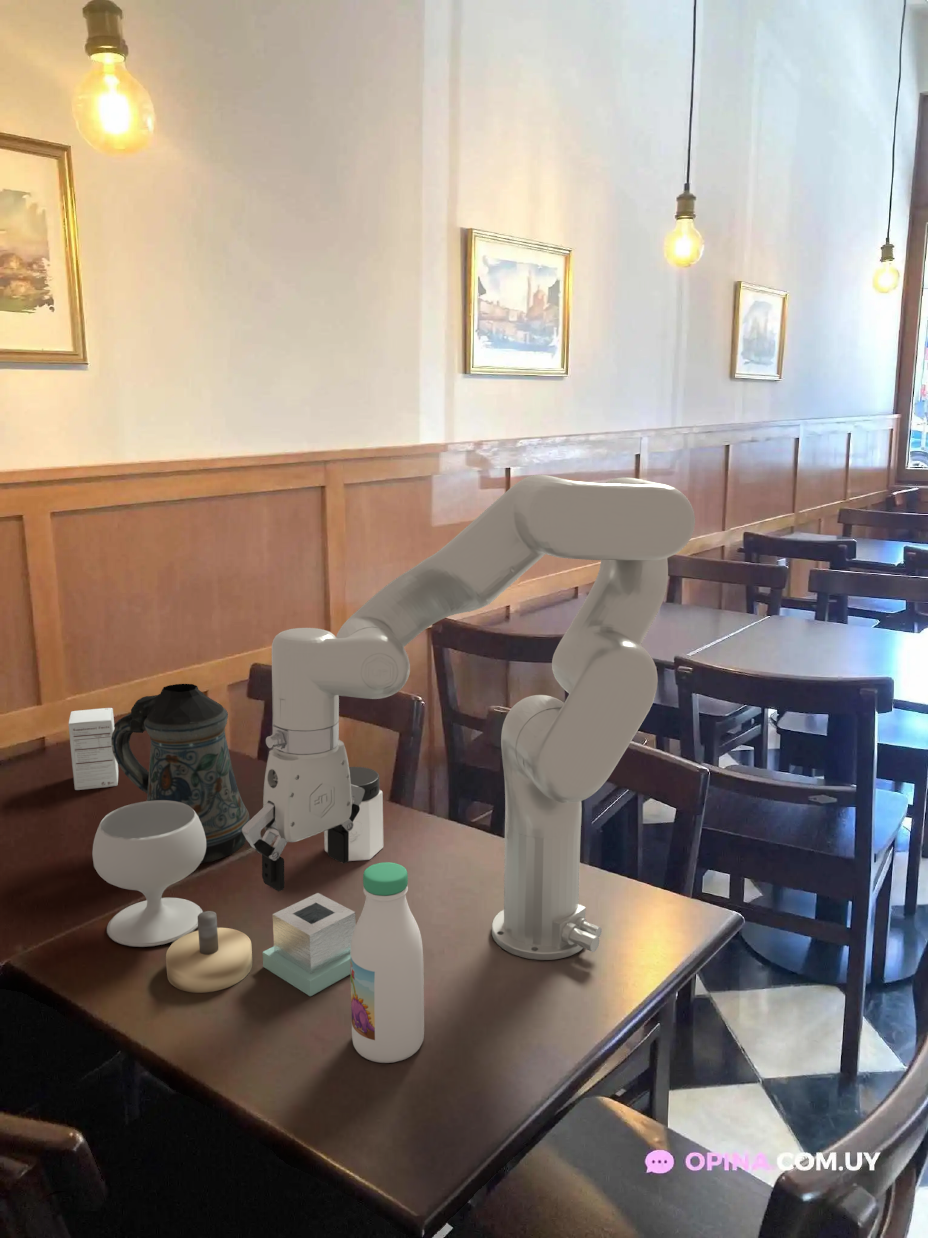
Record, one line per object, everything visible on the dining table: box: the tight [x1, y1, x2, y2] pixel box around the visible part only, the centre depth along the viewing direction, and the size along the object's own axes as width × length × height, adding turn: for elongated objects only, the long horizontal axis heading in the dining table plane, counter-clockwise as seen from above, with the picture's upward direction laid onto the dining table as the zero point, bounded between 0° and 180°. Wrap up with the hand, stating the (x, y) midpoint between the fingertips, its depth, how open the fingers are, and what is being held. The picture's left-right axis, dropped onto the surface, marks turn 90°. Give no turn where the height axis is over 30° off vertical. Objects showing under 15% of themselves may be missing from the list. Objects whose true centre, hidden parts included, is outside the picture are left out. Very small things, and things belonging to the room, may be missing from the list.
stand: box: [262, 945, 351, 997], centre depth 118 cm, size 9×9×4 cm
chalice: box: [91, 800, 206, 948], centre depth 126 cm, size 14×14×15 cm
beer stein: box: [111, 683, 250, 864], centre depth 148 cm, size 16×19×25 cm
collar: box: [272, 892, 357, 974], centre depth 117 cm, size 7×7×5 cm
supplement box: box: [68, 707, 119, 791], centre depth 174 cm, size 7×7×13 cm
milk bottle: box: [349, 861, 425, 1064], centre depth 102 cm, size 8×8×20 cm
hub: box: [165, 910, 253, 994], centre depth 117 cm, size 10×10×7 cm
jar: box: [323, 766, 384, 862], centre depth 147 cm, size 9×8×12 cm
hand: (306, 872), depth 115 cm, fingers open, 9 cm apart
